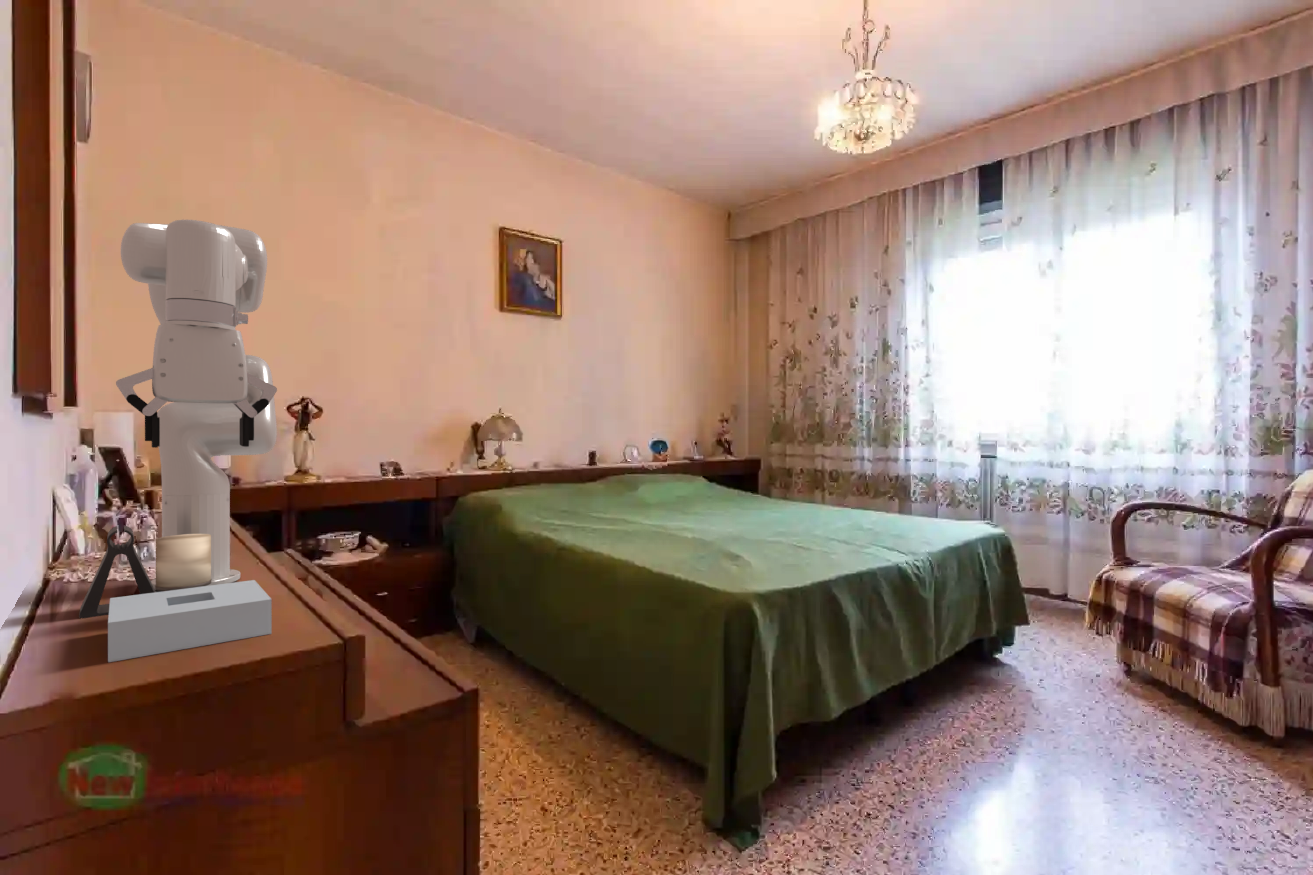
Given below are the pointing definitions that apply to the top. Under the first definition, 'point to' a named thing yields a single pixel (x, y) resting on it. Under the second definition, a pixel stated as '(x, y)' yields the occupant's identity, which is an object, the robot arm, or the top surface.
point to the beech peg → (183, 561)
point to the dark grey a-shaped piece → (96, 589)
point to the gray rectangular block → (186, 619)
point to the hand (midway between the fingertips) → (201, 446)
